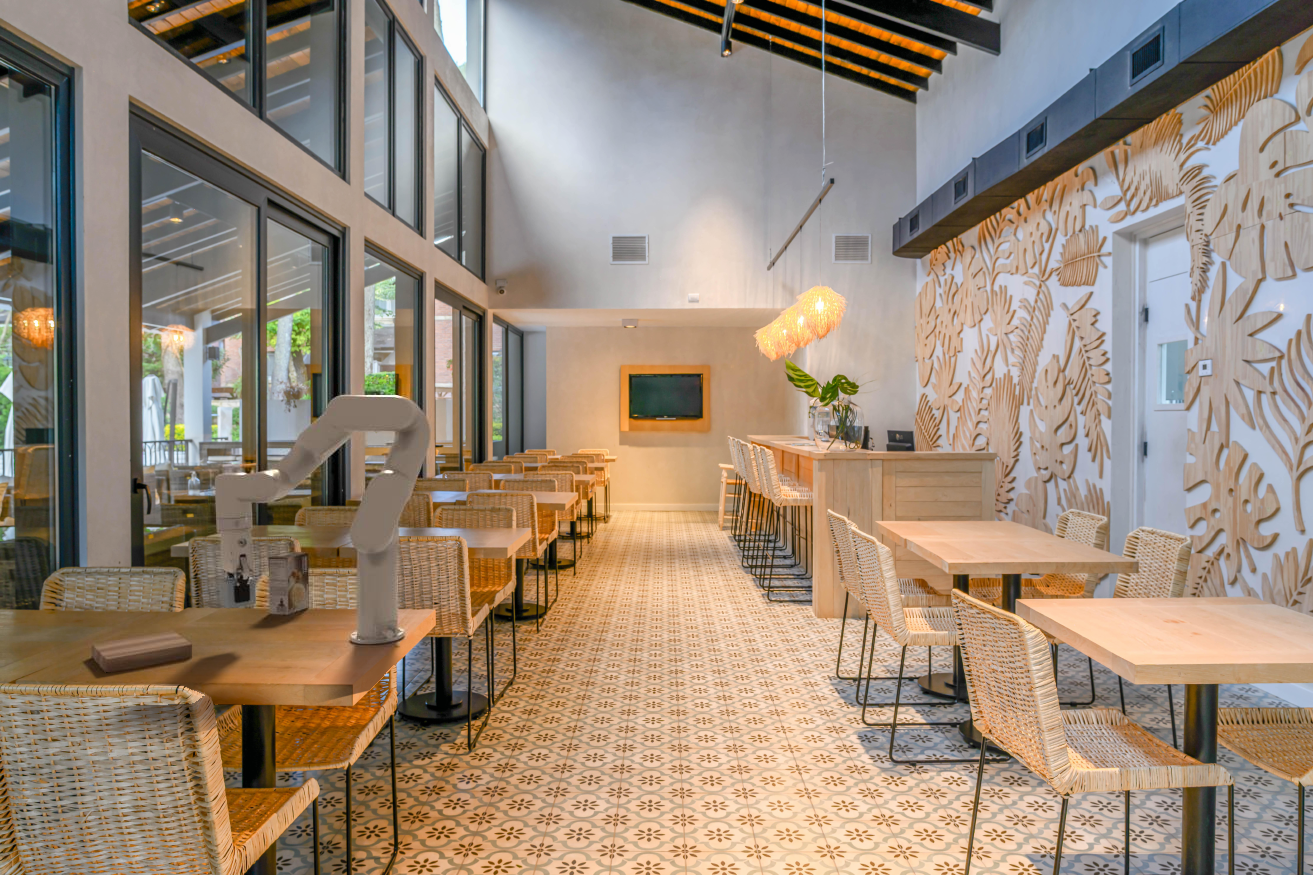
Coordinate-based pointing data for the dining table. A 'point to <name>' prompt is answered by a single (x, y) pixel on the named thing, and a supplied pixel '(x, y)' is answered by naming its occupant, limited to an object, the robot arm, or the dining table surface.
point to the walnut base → (141, 651)
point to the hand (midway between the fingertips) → (237, 599)
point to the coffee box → (288, 583)
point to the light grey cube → (228, 593)
